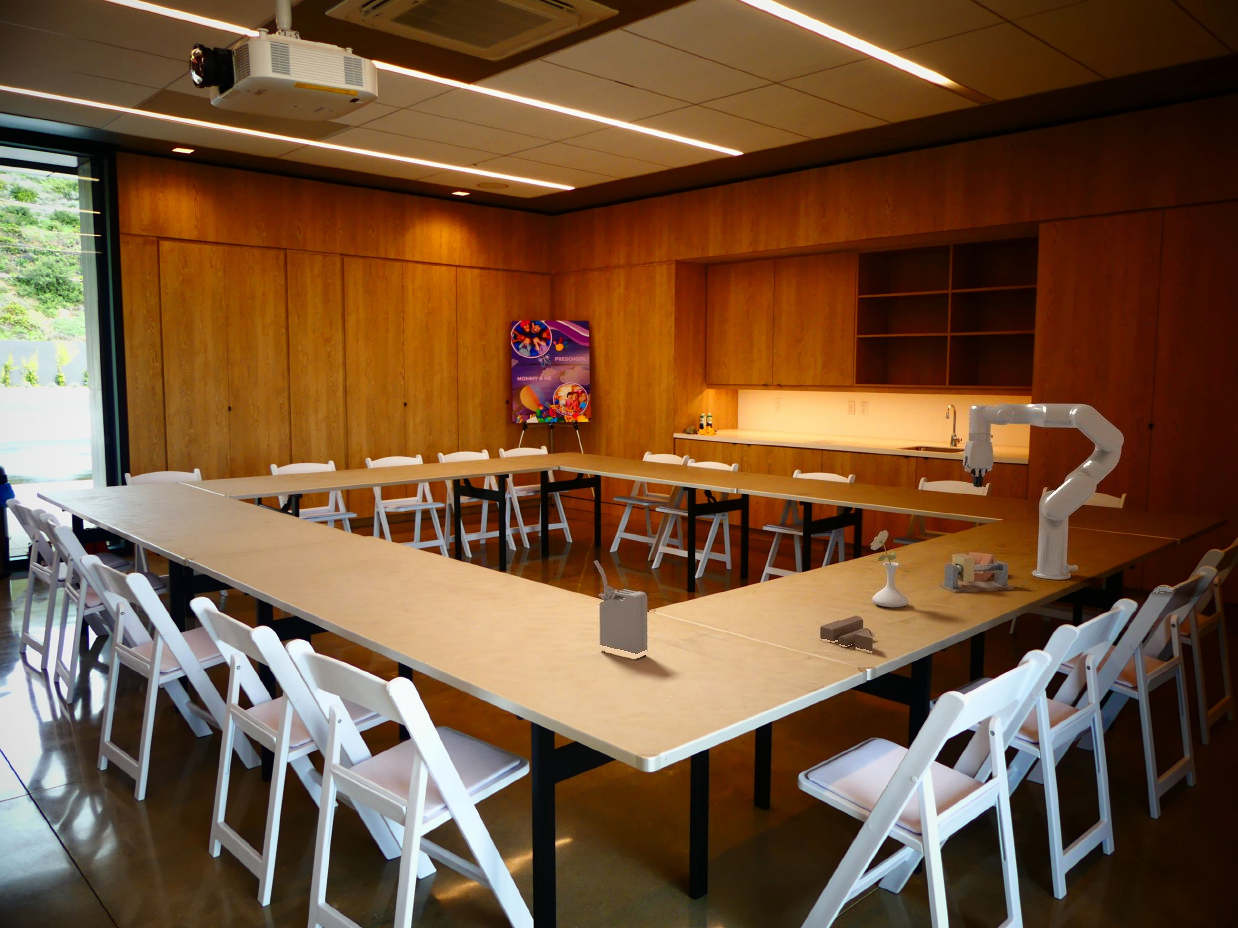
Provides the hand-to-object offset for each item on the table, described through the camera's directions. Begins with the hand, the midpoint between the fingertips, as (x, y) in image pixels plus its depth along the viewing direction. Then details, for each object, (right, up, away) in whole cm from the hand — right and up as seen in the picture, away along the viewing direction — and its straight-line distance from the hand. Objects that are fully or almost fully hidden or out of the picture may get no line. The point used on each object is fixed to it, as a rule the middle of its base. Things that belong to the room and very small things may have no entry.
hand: (977, 486), depth 328 cm
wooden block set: (-66, -42, -82) cm, 113 cm away
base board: (-10, -35, -23) cm, 43 cm away
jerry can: (-135, -43, -91) cm, 168 cm away
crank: (-3, -33, -6) cm, 34 cm away
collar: (-15, -31, -24) cm, 43 cm away
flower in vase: (-48, -38, -45) cm, 76 cm away
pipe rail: (-10, -35, -23) cm, 43 cm away
